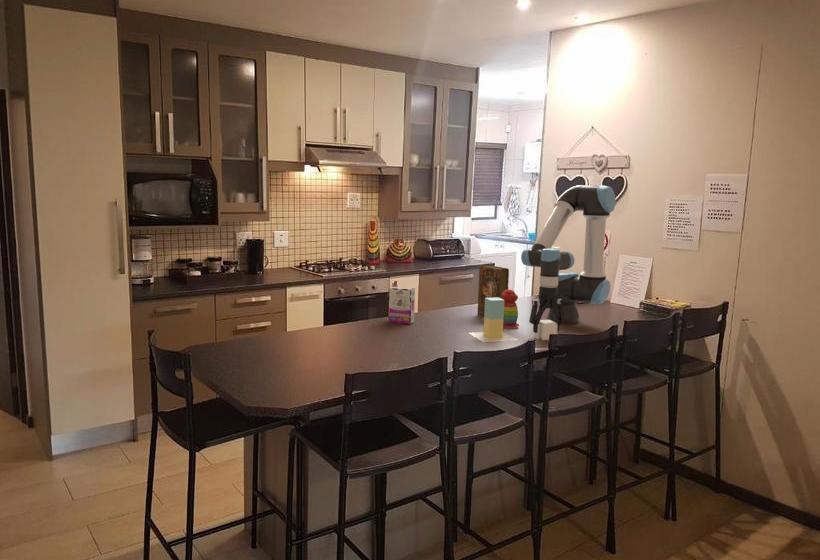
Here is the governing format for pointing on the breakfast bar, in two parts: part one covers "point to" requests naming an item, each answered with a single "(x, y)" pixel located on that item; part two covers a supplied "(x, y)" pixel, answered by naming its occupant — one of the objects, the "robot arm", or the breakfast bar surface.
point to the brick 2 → (547, 329)
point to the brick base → (493, 328)
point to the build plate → (485, 339)
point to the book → (491, 284)
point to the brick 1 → (494, 308)
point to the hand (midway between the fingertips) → (545, 339)
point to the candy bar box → (401, 305)
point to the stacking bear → (510, 309)
